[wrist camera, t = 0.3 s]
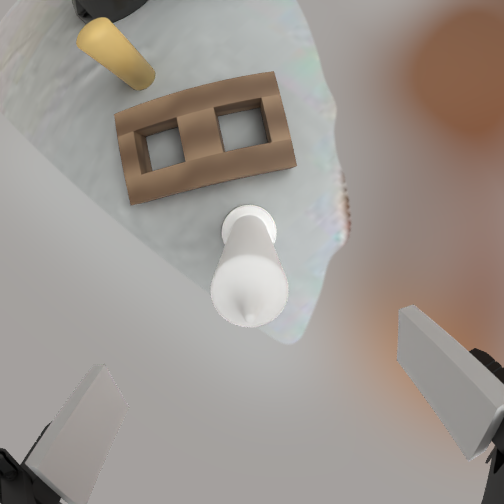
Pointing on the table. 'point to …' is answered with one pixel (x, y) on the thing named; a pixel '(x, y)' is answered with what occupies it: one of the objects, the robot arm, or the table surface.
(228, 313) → the candle
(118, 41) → the peg
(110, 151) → the table surface
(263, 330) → the table surface
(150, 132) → the socket block
